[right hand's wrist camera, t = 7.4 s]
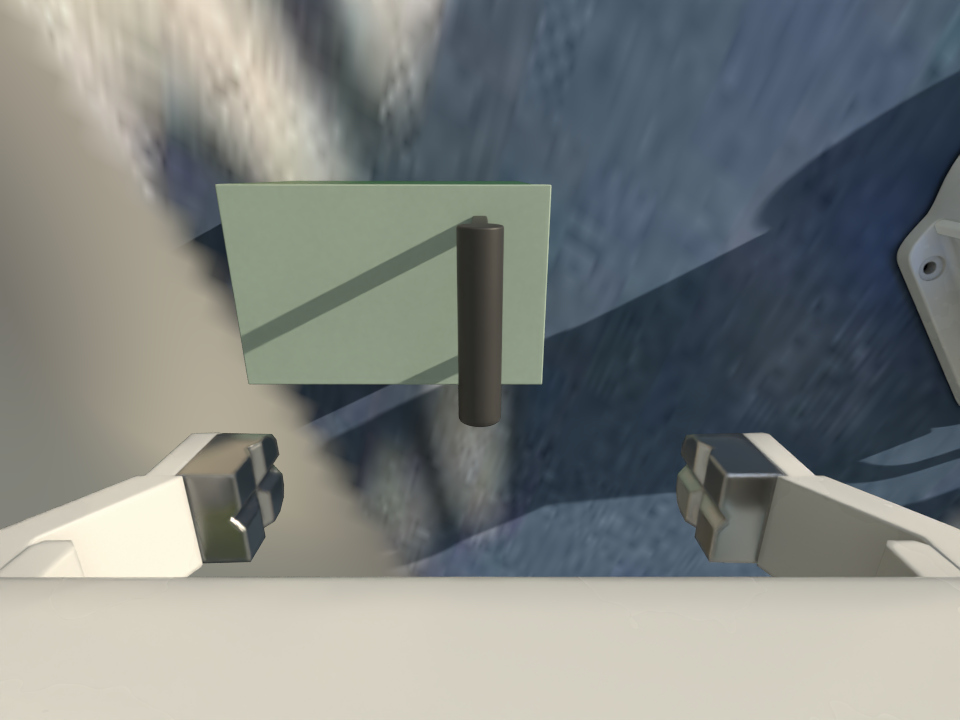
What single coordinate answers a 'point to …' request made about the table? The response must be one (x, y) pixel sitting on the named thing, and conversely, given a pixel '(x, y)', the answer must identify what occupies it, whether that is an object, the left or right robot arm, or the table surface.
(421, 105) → the table surface
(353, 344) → the lid
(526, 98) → the table surface
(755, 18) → the table surface
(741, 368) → the table surface
